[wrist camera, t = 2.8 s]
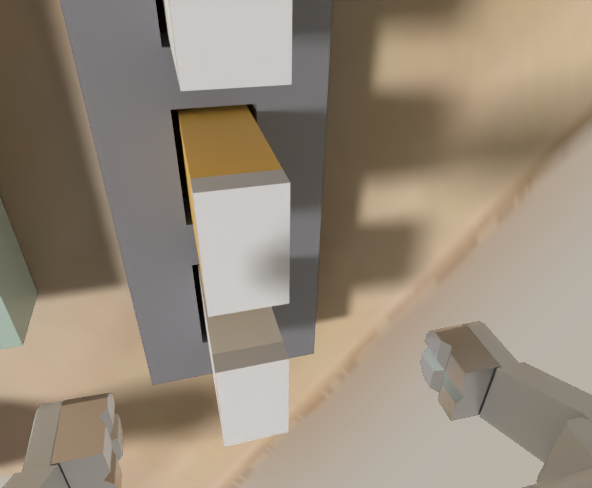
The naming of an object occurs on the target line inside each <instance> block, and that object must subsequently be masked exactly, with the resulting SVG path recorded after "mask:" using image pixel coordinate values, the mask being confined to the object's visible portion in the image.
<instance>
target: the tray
mask: <svg viewBox="0 0 592 488" xmlns="http://www.w3.org/2000/svg"><path fill="white" fill-rule="evenodd" d="M37 294H38V293H37V290H36V288H35V285H34V283H33V280H32V277H31V275H30V272H29V270H28V267H27V264H26V262H25V259H24V257H23V254H22V252H21V249H20V246H19V244H18V241H17V239H16V236H15V233H14V231H13V228H12V226H11V223H10V221H9V218H8V215H7V213H6V210H5V208H4V205H3V203H2V200H1V197H0V349H6V348H12V347H18V346H23V343H24V340H25V336H26V333H27V329H28V326H29V322H30V319H31V315H32V312H33V308H34V305H35V301H36V298H37Z"/></svg>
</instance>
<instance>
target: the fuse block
mask: <svg viewBox="0 0 592 488" xmlns="http://www.w3.org/2000/svg"><path fill="white" fill-rule="evenodd" d="M332 2H333V0H292V85H277V86H260V87H244V88H227V89H210V90H194V91H180V86H179V82H178V77H177V73H176V68H175V64H174V60H173V55H172V51H171V46H170V42H169V37H168V33H160V30H159V23H158V16H157V9H156V2H155V0H60V3H61V7H62V11H63V15H64V19H65V24H66V28H67V32H68V36H69V40H70V44H71V48H72V53H73V57H74V61H75V65H76V69H77V73H78V77H79V82H80V86H81V90H82V94H83V98H84V102H85V107H86V111H87V115H88V119H89V123H90V127H91V131H92V136H93V140H94V144H95V148H96V152H97V156H98V160H99V165H100V169H101V173H102V177H103V181H104V185H105V189H106V194H107V198H108V202H109V206H110V210H111V214H112V219H113V223H114V227H115V231H116V235H117V239H118V243H119V248H120V252H121V256H122V260H123V264H124V268H125V272H126V277H127V281H128V285H129V289H130V293H131V297H132V301H133V306H134V310H135V314H136V318H137V322H138V326H139V331H140V335H141V339H142V343H143V347H144V351H145V355H146V360H147V364H148V368H149V372H150V376H151V380H152V384H153V385H155V384H160V383H165V382H171V381H176V380H181V379H186V378H191V377H196V376H201V375H206V374H211V373H213V371H212V364H211V358H210V352H209V345H208V339H207V332H206V326H205V319H204V313H203V308H200V309H198V306H197V298H196V291H195V284H194V277H193V269H192V265H197V264H199V258H198V252H197V246H196V240H195V234H194V228H193V222H192V216H191V210H190V204H189V198H188V195H187V196H182V190H181V183H180V175H179V168H178V161H177V154H176V146H175V139H174V132H173V125H172V117H171V110H173V109H187V108H202V107H217V106H231V105H247V107H248V109H249V111H250V112H251V114H252V116H253V118H254V119H255V121H256V123H257V125H258V126H259V128H260V130H261V132H262V133H263V135H264V137H265V139H266V141H267V142H268V144H269V146H270V148H271V149H272V151H273V153H274V155H275V156H276V158H277V160H278V162H279V163H280V165H281V167H282V169H283V170H284V172H285V174H286V176H287V178H288V179H289V181H290V279H289V304H283V305H277V306H271V307H272V310H273V313H274V316H275V319H276V322H277V325H278V328H279V331H280V334H281V337H282V340H283V343H284V346H285V349H286V351H287V354H288V357H289V358H293V357H298V356H303V355H308V354H313V353H314V341H315V322H316V303H317V284H318V265H319V246H320V228H321V209H322V190H323V171H324V152H325V134H326V115H327V96H328V77H329V58H330V39H331V21H332Z"/></svg>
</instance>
